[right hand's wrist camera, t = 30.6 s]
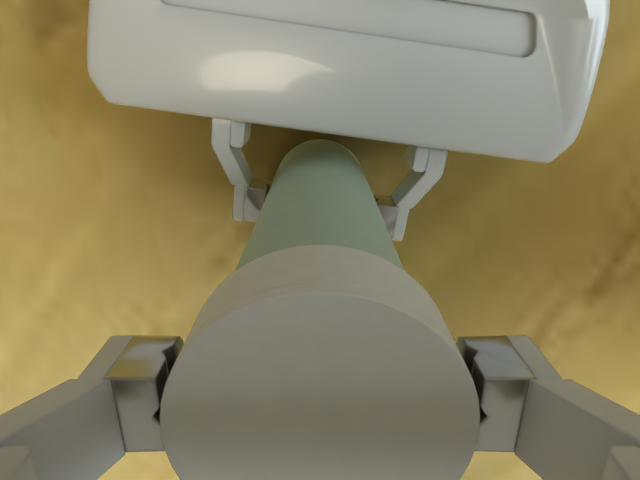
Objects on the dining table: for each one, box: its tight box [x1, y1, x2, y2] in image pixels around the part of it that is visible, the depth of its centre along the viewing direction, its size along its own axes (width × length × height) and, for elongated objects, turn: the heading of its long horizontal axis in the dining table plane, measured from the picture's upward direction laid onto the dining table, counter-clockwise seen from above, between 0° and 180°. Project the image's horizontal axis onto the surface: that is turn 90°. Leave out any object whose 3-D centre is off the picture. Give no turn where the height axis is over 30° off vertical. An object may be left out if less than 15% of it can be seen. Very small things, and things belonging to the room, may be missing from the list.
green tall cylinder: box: [236, 139, 404, 270], centre depth 18 cm, size 5×5×18 cm
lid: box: [160, 245, 480, 480], centre depth 9 cm, size 6×6×2 cm
